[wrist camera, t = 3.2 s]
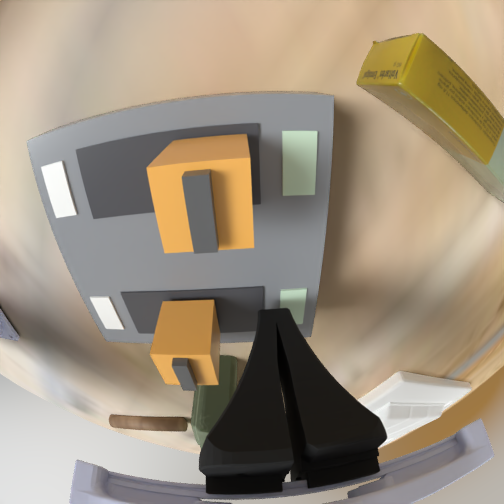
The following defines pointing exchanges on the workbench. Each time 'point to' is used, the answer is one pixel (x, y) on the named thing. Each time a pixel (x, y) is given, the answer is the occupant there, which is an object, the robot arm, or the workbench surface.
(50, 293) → the workbench surface
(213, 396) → the handheld radio
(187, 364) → the breaker
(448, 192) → the workbench surface
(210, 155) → the breaker
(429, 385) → the vent cover
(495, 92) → the workbench surface
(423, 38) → the medication box
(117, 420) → the wooden dowel
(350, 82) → the workbench surface
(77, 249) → the box
